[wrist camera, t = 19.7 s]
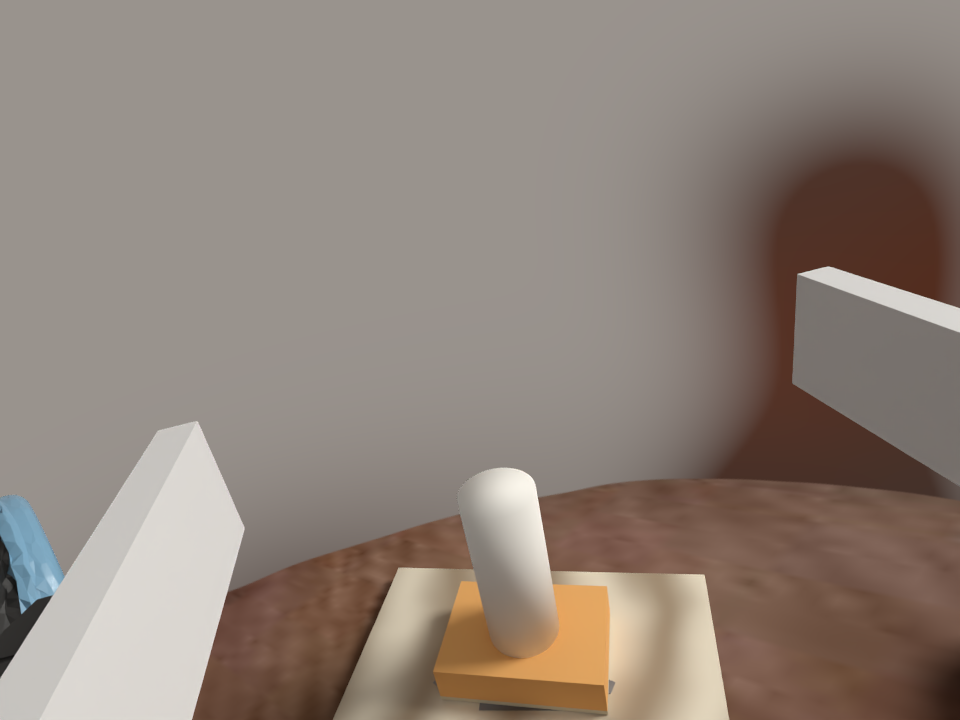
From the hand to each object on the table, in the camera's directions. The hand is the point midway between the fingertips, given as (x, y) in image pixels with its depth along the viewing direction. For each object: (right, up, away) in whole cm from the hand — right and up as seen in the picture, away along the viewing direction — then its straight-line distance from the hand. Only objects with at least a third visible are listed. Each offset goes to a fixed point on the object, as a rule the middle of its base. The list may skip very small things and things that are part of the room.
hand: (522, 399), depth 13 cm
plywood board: (+2, -19, +26) cm, 32 cm away
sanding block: (+2, -18, +25) cm, 31 cm away
